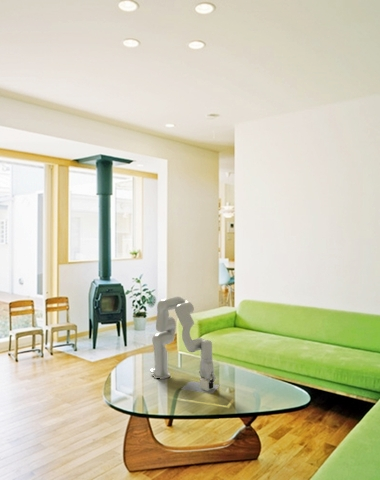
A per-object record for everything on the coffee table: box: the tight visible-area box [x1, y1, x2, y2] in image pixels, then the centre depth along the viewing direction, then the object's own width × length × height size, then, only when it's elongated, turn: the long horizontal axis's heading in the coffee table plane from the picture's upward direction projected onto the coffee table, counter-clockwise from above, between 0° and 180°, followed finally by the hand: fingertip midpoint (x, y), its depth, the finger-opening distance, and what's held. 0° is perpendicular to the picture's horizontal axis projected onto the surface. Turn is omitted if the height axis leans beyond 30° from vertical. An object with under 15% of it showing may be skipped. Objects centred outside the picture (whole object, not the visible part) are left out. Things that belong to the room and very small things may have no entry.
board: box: [181, 380, 221, 395], centre depth 263 cm, size 22×15×1 cm
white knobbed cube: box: [199, 378, 215, 391], centre depth 260 cm, size 7×7×7 cm
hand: (207, 386), depth 261 cm, fingers closed on white knobbed cube, 6 cm apart
